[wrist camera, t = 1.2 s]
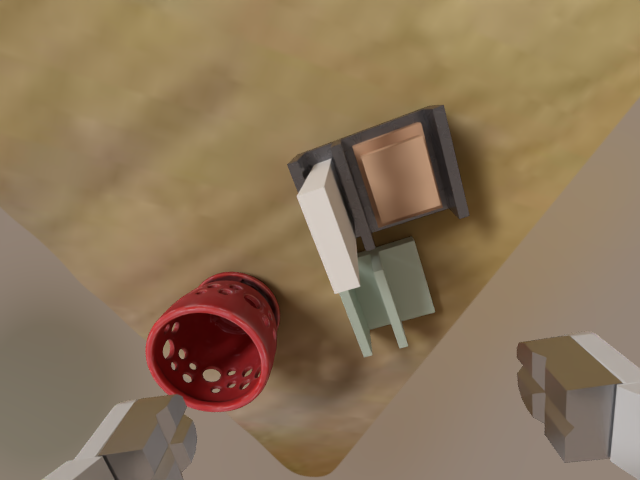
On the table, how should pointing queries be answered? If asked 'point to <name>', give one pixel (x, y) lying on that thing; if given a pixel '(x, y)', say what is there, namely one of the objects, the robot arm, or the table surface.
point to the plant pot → (217, 342)
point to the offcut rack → (353, 181)
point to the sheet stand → (387, 291)
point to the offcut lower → (383, 142)
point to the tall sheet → (331, 225)
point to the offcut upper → (401, 179)
